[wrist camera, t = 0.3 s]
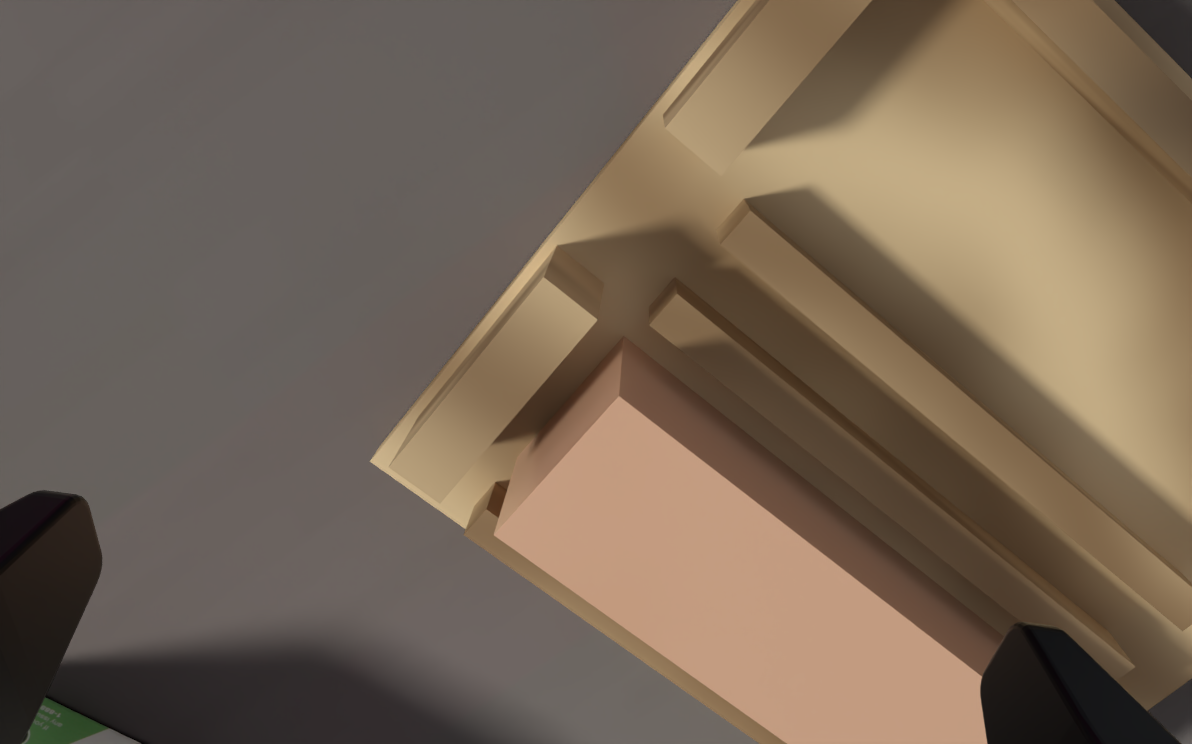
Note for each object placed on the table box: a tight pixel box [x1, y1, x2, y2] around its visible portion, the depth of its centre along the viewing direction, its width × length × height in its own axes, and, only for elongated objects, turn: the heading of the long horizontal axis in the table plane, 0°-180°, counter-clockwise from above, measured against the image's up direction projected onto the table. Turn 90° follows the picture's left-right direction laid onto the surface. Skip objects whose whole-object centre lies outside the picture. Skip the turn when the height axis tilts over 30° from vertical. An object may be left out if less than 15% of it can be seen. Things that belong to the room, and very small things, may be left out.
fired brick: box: [494, 336, 1004, 744], centre depth 23 cm, size 4×16×4 cm, turn 51°
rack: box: [370, 0, 1192, 744], centre depth 22 cm, size 20×22×4 cm
